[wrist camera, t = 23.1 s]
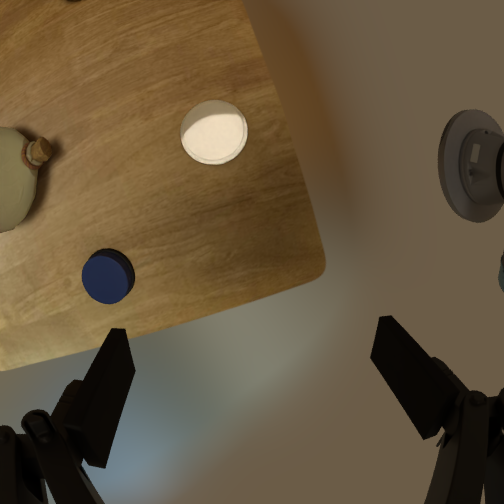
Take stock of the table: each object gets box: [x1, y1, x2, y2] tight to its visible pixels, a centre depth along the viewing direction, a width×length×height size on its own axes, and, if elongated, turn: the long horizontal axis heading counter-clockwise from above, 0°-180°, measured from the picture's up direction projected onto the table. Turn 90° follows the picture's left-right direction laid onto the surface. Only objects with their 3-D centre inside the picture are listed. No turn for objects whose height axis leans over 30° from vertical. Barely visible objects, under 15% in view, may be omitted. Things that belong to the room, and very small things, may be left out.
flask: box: [0, 127, 52, 233], centre depth 32 cm, size 9×16×18 cm
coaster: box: [89, 249, 135, 297], centre depth 42 cm, size 8×8×1 cm
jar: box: [180, 100, 248, 165], centre depth 33 cm, size 7×7×11 cm
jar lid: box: [82, 252, 132, 304], centre depth 41 cm, size 8×8×2 cm
